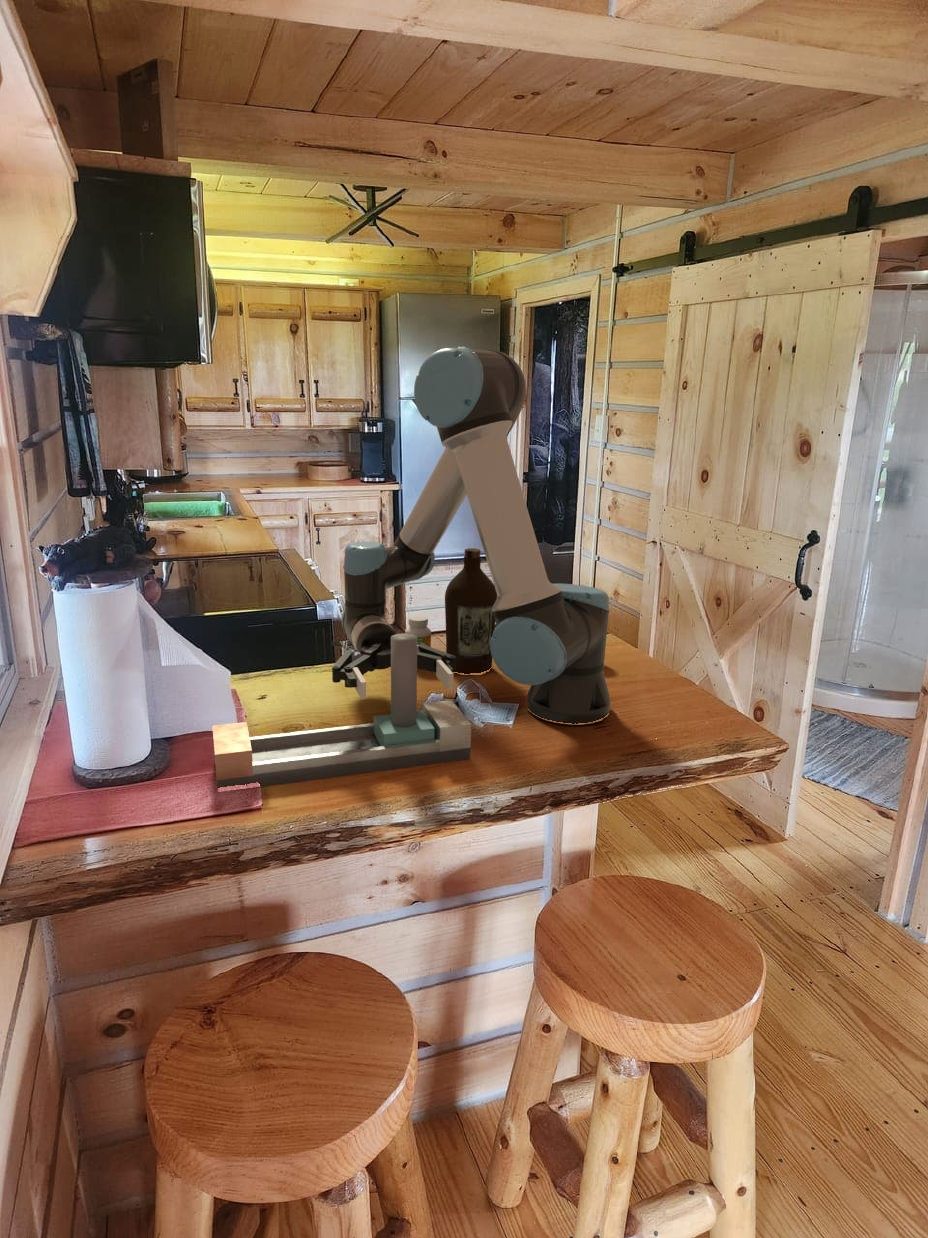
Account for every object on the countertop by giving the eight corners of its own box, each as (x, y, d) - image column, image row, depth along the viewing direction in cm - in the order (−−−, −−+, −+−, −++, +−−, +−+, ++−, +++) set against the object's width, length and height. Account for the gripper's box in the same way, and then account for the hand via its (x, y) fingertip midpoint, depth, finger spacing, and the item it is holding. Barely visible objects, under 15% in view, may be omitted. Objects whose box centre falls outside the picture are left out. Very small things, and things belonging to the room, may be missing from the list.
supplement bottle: (411, 668, 162) (411, 623, 160) (400, 659, 167) (401, 615, 164) (434, 664, 165) (435, 620, 162) (424, 656, 169) (424, 613, 167)
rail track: (450, 732, 133) (451, 699, 131) (470, 759, 124) (471, 724, 122) (215, 761, 121) (212, 725, 119) (217, 793, 112) (214, 754, 110)
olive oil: (438, 661, 167) (440, 544, 160) (487, 658, 169) (491, 543, 162) (449, 679, 157) (452, 556, 150) (500, 676, 159) (505, 554, 152)
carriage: (421, 727, 129) (423, 628, 124) (434, 746, 123) (435, 642, 118) (373, 733, 127) (373, 632, 122) (384, 752, 120) (383, 646, 115)
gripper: (444, 657, 143) (484, 700, 124) (305, 669, 135) (326, 718, 116) (445, 617, 141) (486, 656, 122) (304, 627, 133) (324, 670, 114)
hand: (408, 686), depth 119 cm, fingers open, 13 cm apart
